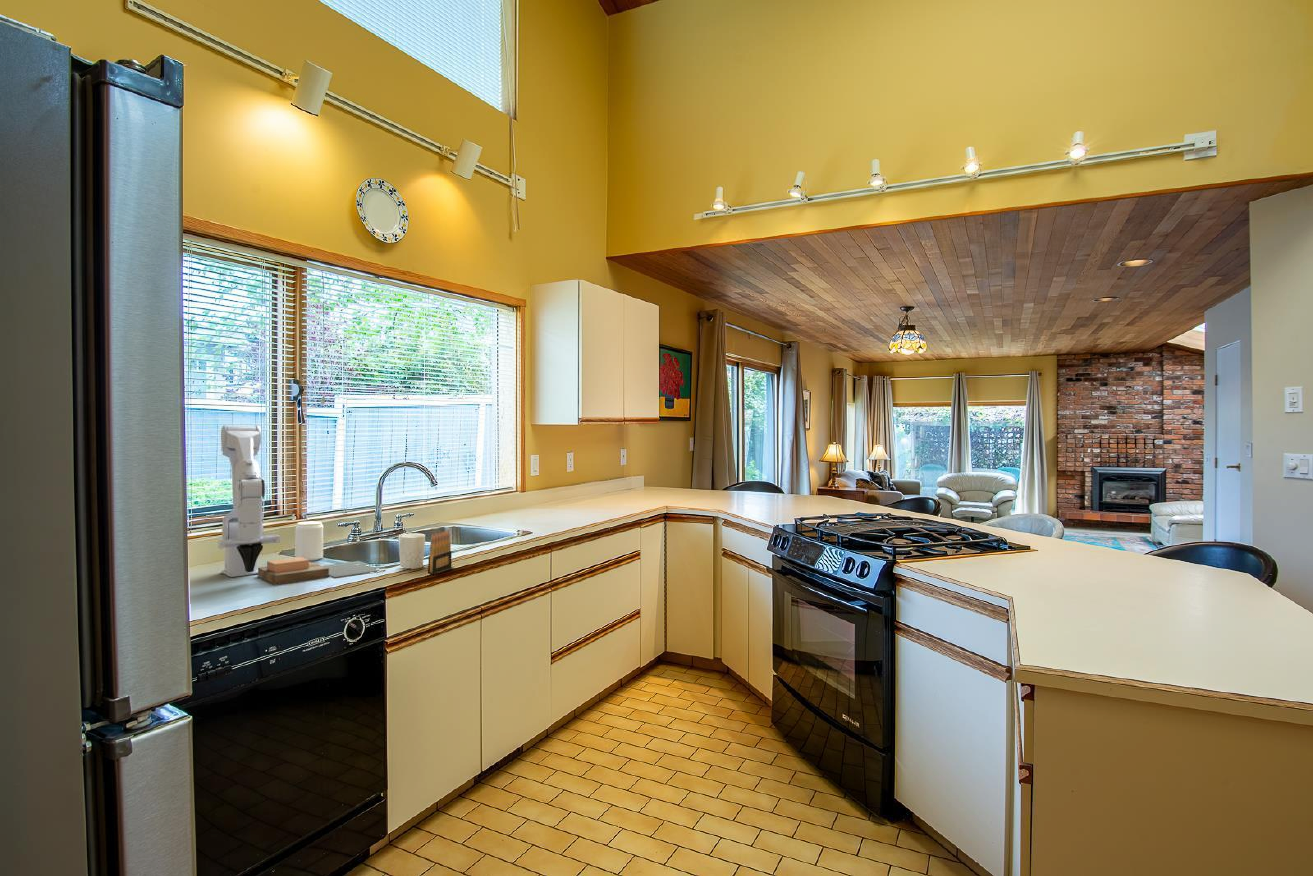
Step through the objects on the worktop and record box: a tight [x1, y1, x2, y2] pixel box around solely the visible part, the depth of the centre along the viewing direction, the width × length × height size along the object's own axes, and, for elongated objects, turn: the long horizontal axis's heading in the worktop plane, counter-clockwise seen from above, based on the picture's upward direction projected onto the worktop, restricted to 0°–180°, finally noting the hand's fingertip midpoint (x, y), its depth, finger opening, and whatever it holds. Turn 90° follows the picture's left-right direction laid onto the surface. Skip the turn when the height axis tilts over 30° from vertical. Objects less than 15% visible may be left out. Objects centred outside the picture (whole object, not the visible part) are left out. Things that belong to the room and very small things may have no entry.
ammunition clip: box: [427, 529, 453, 575], centre depth 203 cm, size 11×2×12 cm, turn 168°
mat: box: [323, 560, 380, 579], centre depth 200 cm, size 18×15×1 cm
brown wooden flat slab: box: [257, 561, 330, 586], centre depth 190 cm, size 14×14×2 cm
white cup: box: [398, 532, 426, 570], centre depth 206 cm, size 8×8×10 cm
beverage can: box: [294, 520, 324, 562], centre depth 215 cm, size 8×8×12 cm
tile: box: [266, 557, 309, 573], centre depth 189 cm, size 6×9×2 cm, turn 139°
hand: (249, 571), depth 181 cm, fingers closed
